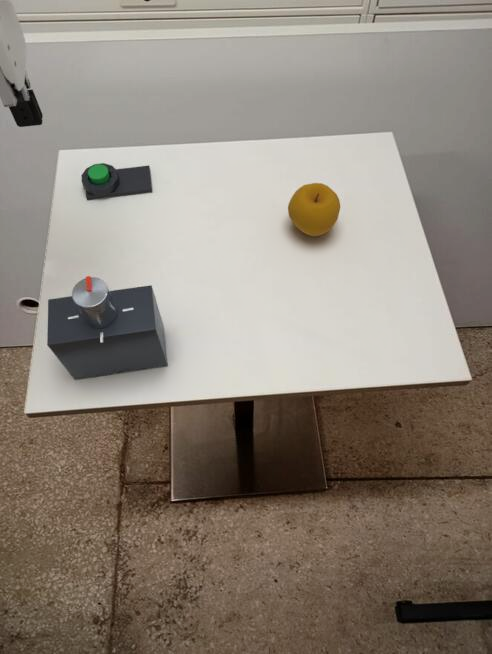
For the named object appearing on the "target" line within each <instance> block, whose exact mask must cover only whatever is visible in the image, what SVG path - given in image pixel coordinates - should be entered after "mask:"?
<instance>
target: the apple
mask: <svg viewBox="0 0 492 654" xmlns="http://www.w3.org/2000/svg"><path fill="white" fill-rule="evenodd" d="M340 201H341V200H340V198H339V195H338V194H337V193H336V191H334V190H333V189H332V188H331V187H330V186H328V185H326V184H324V183H319V182H313V183H307V184H304V185H302V186H300V187H299V188H298V189H297V190H295V192H294V193H293V195H292V196H291V198H290V200H289V203H288V206H287V211H288V217H289V219H290V221H291V222H292V224H293V225H294V226H295V227H296V228H297V229H298V230H299V231H301V232H302V233H304V234H306V235H307V236H309V237H320V236H322V235H324V234H326V233H328V232H329V231H330V230H331V229H333V227H334V226H335V225H336V223H337V222H338V219H339V214H340V210H341V202H340Z"/></svg>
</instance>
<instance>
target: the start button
mask: <svg viewBox="0 0 492 654" xmlns="http://www.w3.org/2000/svg"><path fill="white" fill-rule="evenodd" d="M96 164H97V165H94V164H93V165H94V166H92V165H91V166H92V167H91V168H90V169H89V170H88V175H89V178H90V181H91V182H92V183H93V184H95V185H102V184H105V183H106V182H108V181H109V179H110V175H109V171H108V169H107V167H106V166H104V165H101V164H100V163H96Z"/></svg>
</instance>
